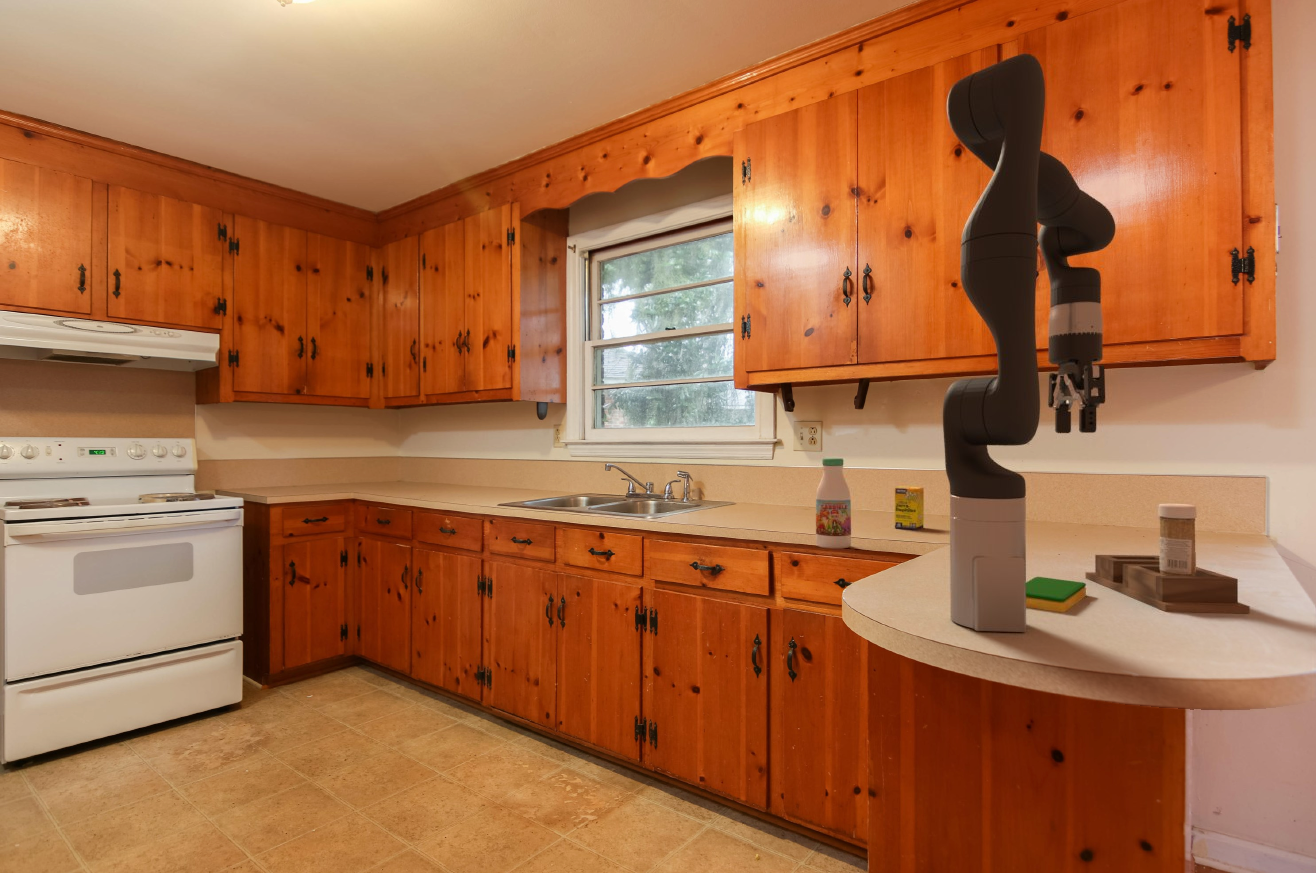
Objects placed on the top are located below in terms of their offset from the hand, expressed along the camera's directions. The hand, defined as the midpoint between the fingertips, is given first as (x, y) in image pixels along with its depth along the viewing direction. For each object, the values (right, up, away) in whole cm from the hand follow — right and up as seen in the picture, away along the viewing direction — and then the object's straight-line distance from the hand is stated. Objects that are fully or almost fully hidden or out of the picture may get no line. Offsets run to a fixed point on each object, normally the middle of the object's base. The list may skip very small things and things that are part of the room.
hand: (1074, 432), depth 110 cm
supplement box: (-1, -25, +69) cm, 74 cm away
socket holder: (+11, -26, -4) cm, 28 cm away
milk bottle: (-28, -26, +42) cm, 57 cm away
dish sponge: (-8, -26, -6) cm, 28 cm away
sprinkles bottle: (+10, -24, -8) cm, 28 cm away
